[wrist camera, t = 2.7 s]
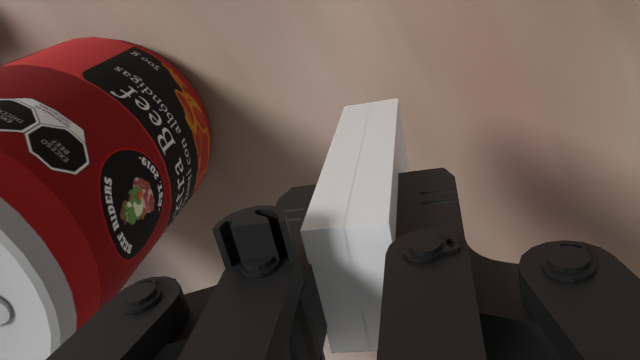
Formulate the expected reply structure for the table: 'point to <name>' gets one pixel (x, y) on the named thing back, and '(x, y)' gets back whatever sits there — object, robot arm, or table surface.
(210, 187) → the table surface
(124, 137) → the canned food
